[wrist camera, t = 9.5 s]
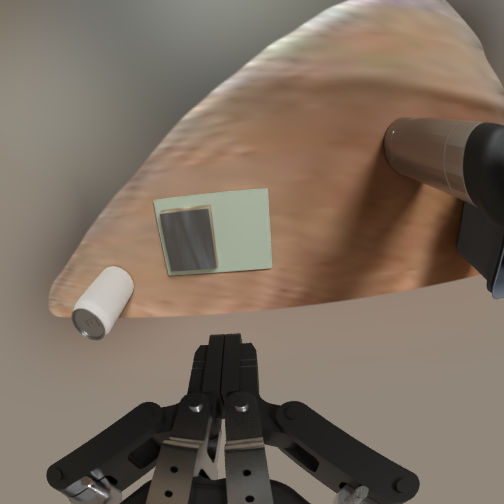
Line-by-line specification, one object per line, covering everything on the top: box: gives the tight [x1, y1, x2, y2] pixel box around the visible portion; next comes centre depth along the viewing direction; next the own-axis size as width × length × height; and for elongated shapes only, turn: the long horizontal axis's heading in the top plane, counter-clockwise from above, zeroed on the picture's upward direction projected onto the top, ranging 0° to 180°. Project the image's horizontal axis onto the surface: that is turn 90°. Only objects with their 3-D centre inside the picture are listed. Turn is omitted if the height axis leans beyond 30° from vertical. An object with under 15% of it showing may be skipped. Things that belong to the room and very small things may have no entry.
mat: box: [154, 188, 272, 275], centre depth 39 cm, size 16×12×1 cm
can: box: [72, 266, 134, 340], centre depth 37 cm, size 6×6×12 cm
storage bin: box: [457, 201, 504, 299], centre depth 31 cm, size 21×16×14 cm
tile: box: [159, 205, 219, 272], centre depth 38 cm, size 2×9×7 cm
